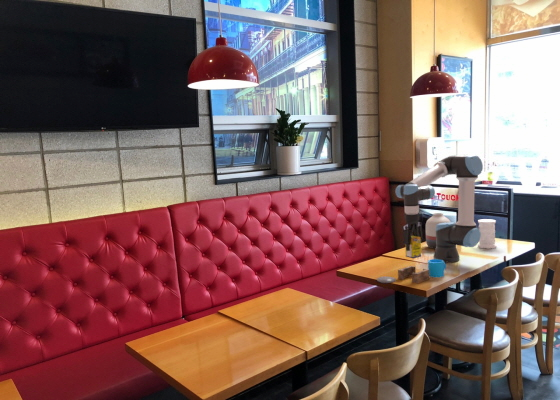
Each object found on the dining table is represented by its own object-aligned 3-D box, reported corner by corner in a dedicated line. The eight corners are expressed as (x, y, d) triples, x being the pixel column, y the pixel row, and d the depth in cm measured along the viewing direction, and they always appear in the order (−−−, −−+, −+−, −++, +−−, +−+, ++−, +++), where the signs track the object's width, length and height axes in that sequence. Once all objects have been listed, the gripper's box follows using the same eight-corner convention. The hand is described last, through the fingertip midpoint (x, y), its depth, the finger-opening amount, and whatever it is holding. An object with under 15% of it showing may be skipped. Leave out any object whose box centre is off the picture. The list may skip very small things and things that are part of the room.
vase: (424, 245, 317) (423, 212, 314) (448, 244, 314) (448, 211, 312) (428, 250, 300) (427, 216, 298) (454, 249, 298) (454, 215, 295)
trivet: (385, 276, 249) (385, 275, 249) (399, 280, 241) (399, 278, 241) (373, 280, 244) (373, 279, 243) (387, 284, 235) (387, 283, 235)
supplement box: (413, 258, 237) (412, 238, 235) (405, 256, 242) (404, 237, 241) (421, 256, 239) (420, 237, 238) (413, 254, 245) (412, 235, 243)
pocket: (411, 274, 250) (410, 265, 249) (429, 278, 240) (429, 269, 240) (398, 278, 244) (398, 269, 243) (416, 283, 234) (416, 274, 233)
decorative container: (482, 244, 309) (481, 218, 307) (499, 246, 300) (499, 219, 298) (474, 247, 301) (474, 221, 299) (492, 249, 293) (492, 222, 291)
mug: (437, 278, 240) (437, 263, 239) (425, 275, 247) (424, 261, 246) (451, 274, 246) (451, 259, 245) (439, 271, 253) (438, 257, 252)
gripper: (417, 210, 246) (418, 250, 249) (394, 215, 235) (396, 257, 238) (428, 211, 240) (430, 252, 243) (405, 216, 229) (407, 259, 232)
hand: (413, 254), depth 241 cm, fingers closed on supplement box, 6 cm apart
